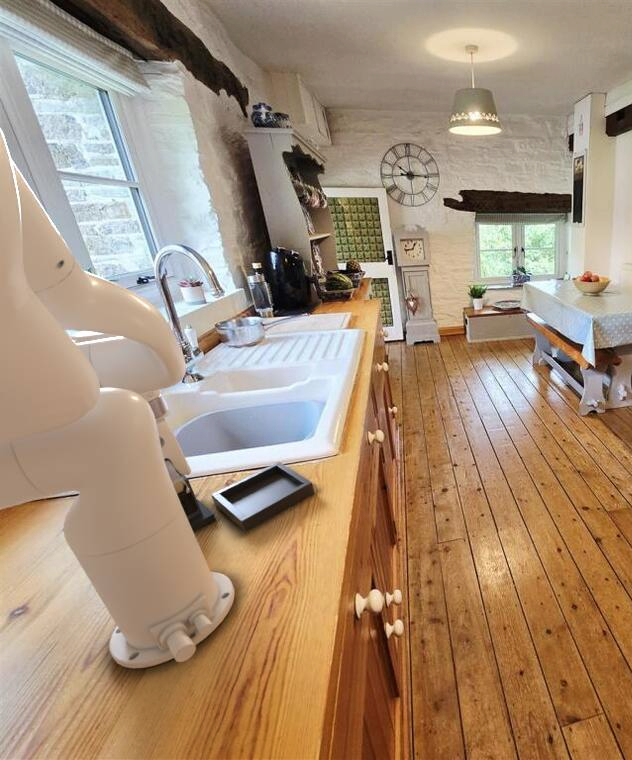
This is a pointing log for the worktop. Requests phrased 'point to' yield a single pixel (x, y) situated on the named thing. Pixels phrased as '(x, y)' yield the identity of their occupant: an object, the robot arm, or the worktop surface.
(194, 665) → the worktop surface
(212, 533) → the worktop surface
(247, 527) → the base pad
